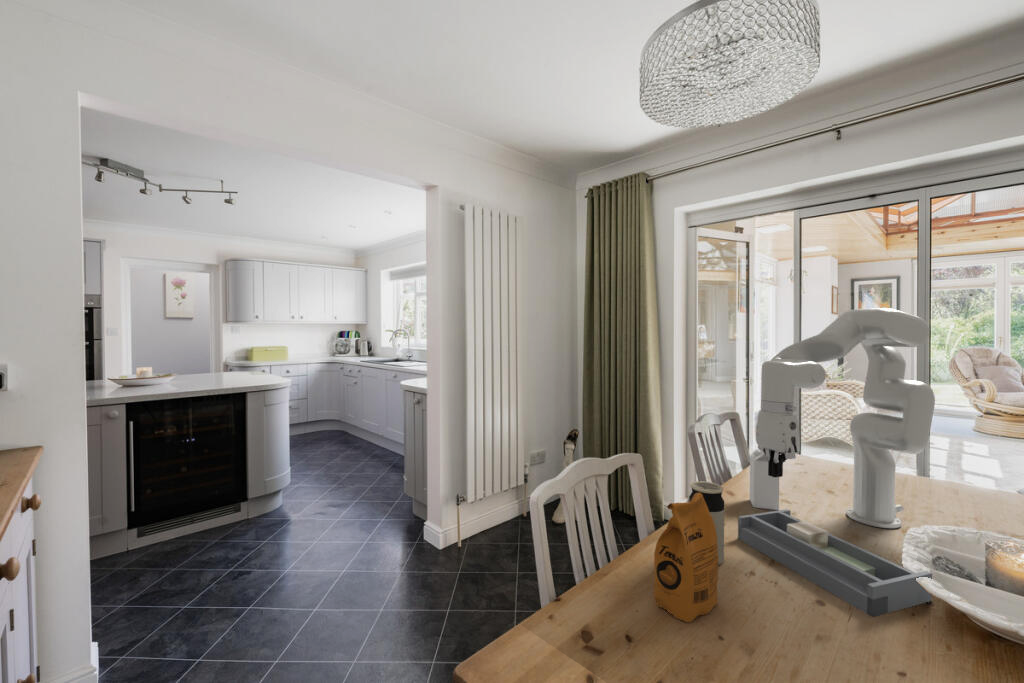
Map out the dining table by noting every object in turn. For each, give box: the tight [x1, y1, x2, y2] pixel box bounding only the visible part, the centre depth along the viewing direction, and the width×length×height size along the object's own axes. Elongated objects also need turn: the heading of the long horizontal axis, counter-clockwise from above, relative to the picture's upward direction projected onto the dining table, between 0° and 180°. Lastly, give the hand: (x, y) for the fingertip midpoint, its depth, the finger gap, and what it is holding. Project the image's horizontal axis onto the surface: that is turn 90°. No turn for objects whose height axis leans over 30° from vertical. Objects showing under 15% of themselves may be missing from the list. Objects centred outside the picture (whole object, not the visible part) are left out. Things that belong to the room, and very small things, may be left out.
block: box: [787, 520, 829, 549], centre depth 109 cm, size 6×6×4 cm
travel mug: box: [688, 480, 725, 566], centre depth 109 cm, size 8×8×18 cm
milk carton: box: [749, 448, 780, 511], centre depth 141 cm, size 7×7×19 cm
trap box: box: [737, 508, 933, 618], centre depth 105 cm, size 17×34×6 cm, turn 16°
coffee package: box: [653, 493, 719, 623], centre depth 90 cm, size 10×12×22 cm
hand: (775, 476), depth 117 cm, fingers closed
